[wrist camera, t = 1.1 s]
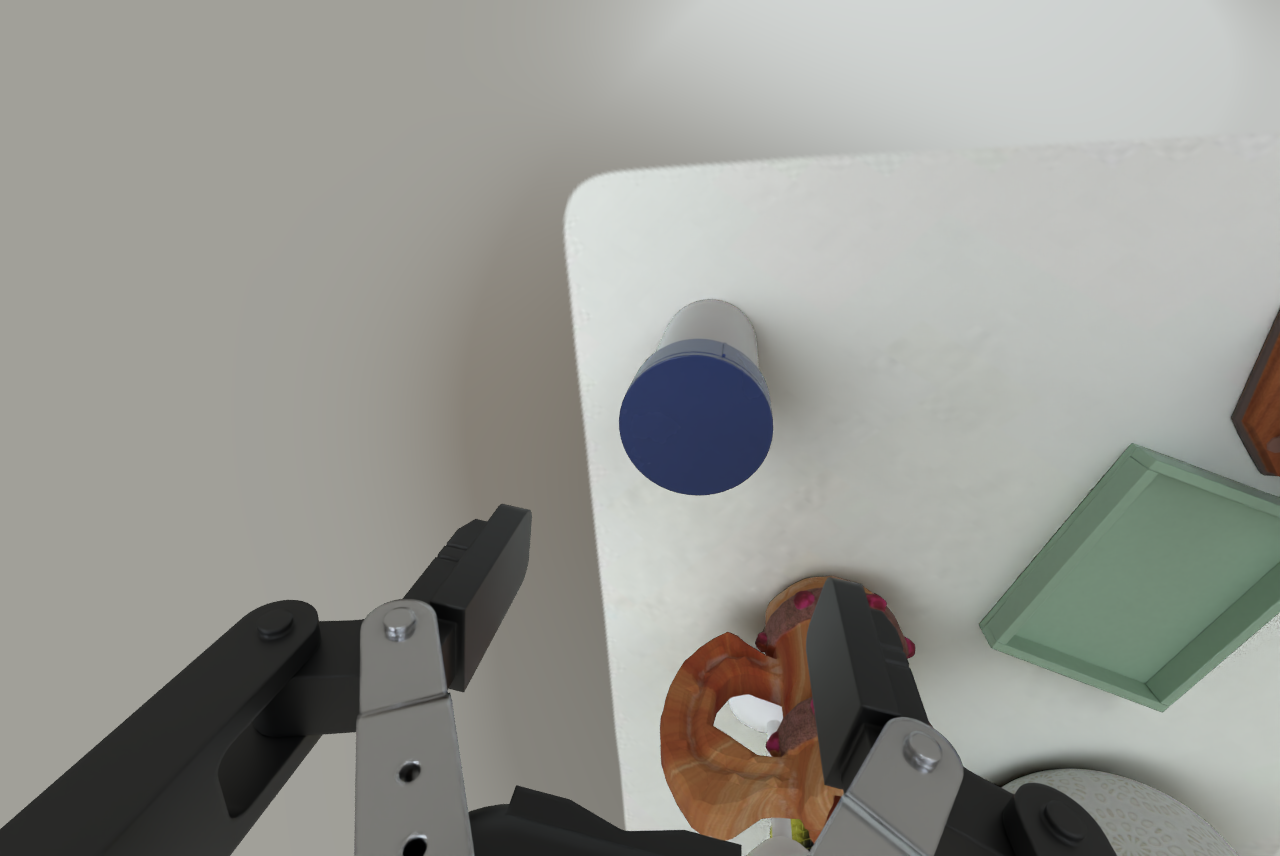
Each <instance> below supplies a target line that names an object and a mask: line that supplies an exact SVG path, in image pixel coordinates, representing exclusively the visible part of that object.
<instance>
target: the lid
mask: <svg viewBox="0 0 1280 856" xmlns="http://www.w3.org/2000/svg"><path fill="white" fill-rule="evenodd" d="M619 430H620V436H621V440H622V443H623V446H624V449H625V451H626V453H627V455H628V457H629V458H630V460H631V461H632V463H633V464H634V465H635V466H636V468H637V469H638V470H639V471H640V472H641V473H642V474H643V475H644V476H645V477H647V478H648V479H649V480H651V481H652V482H654V483H656V484H657V485H659V486H661V487H663V488H665V489H668V490H670V491H674V492H677V493H681V494H686V495H710V494H716V493H720V492H724V491H726V490H729V489H731V488H734V487H736V486H737V485H739V484H741V483H742V482H744V481H745V480H747V479H748V478H749V477H750V476H751V475H752V474H753V473H754V472H756V470H757V469H758V468H759V467H760V465H761V464H762V463H763V461H764V459H765V458H766V456H767V453H768V451H769V449H770V445H771V441H772V436H773V417H772V410H771V402H770V396H769V390H768V387H767V384H766V381H765V379H764V377H763V375H762V373H761V372H760V370H759V369H758V368H757V366H756V365H755V364H754V363H753V362H752V361H751V360H750V359H749V358H748V357H747V356H746V355H745V354H743V353H742V352H741V351H739V350H737V349H736V348H734V347H732V346H730V345H727V342H724V343H722V342H719V341H715V340H709V339H686V340H682V341H677V342H675V343H672V344H669V345H667V346H665V347H663V348H661V349H659V350H658V351H657V352H655V353H654V354H652V355H651V356H650V357H649V358H648V359H647V360H646V361H645V362H644V364H643V365H642V366H641V367H640V369H639V370H638V372H637V374H636V376H635V377H634V379H633V381H632V383H631V385H630V387H629V389H628V391H627V393H626V395H625V397H624V400H623V402H622V406H621V409H620V416H619Z"/></svg>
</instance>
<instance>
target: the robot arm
mask: <svg viewBox="0 0 1280 856" xmlns="http://www.w3.org/2000/svg"><path fill="white" fill-rule="evenodd" d="M531 521H532V513H531V510H528V509H523V508H519V507H514V506H509V505H505V504H501V505H500V506H498V508H497V509H496V511H495V512H494V513H493V515H492V516H491V517H490V519H489V520H488V522H487V521H482V520H478V519H475V520H473V521H471V522H470V523H468V524H466V525H464V526H463V527H461V528H459V529H458V530H457V531H456V532H455V534H454V535H453V536H452V537H451V539H450V540H449V541H448V542H447V545H446V546H444V547H443V549H442V550H441V551H440V552H439V554H438V557H435V559H434V560H433V561H432V562H431V564H430V565H429V566H428V568H427V569H426V570H425V571H424V573H423V574H422V575H421V576H420V578H419V579H418V580H417V581H416V583H415V584H414V585H413V586H412V588H411V589H410V590H409V592H408V593H407V594H406V595H405V596H404V598H403V599H399V600H394V601H390V602H387V603H385V604H383V605H381V606H379V607H377V608H375V609H374V610H373V611H372V612H370V613H369V614H368V615H367V617H366V618H365V619H362V620H353V621H319V620H318V614H317V611H316V609H315V608H314V607H313V606H312V605H310V604H308V603H306V602H303V601H298V600H283V601H277V602H273V603H269V604H266V605H264V606H261V607H259V608H257V609H255V610H253V611H252V612H250V613H248V614H247V615H246V616H244V617H243V618H242V619H241V620H240V621H239V622H237V623H236V624H235V625H234V626H233V627H232V628H231V629H229V630H228V631H227V632H226V633H225V634H224V635H222V636H221V637H220V638H219V639H218V640H217V641H216V642H215V643H213V644H212V645H211V646H210V647H209V648H208V649H206V650H205V651H204V652H203V653H202V654H201V655H200V656H198V657H197V658H196V659H195V660H194V661H193V662H192V663H190V664H189V665H188V666H187V667H186V668H185V669H184V670H182V671H181V672H180V673H179V674H178V675H177V676H175V677H174V678H173V679H172V680H171V681H170V682H169V683H167V684H166V685H165V686H164V687H163V688H162V689H161V690H159V691H158V692H157V693H156V694H155V695H154V696H152V697H151V698H150V699H149V700H148V701H147V702H146V703H144V704H143V705H142V706H141V707H140V708H139V709H138V710H137V711H135V712H134V713H133V714H132V715H131V716H130V717H129V718H127V719H126V720H125V721H124V722H123V723H122V724H120V725H119V726H118V727H117V728H116V729H115V730H114V731H112V732H111V733H110V734H109V735H108V736H107V737H105V738H104V739H103V740H102V741H101V742H100V743H99V744H98V745H96V746H95V747H94V748H93V749H92V750H91V751H89V752H88V753H87V754H86V755H85V756H84V757H83V758H81V759H80V760H79V761H78V762H77V763H76V764H75V765H73V766H72V767H71V768H70V769H69V770H68V771H66V772H65V773H64V774H63V775H62V776H61V777H60V778H59V779H57V780H56V781H55V782H54V783H53V784H52V785H50V786H49V787H48V788H47V789H46V790H45V791H44V792H43V793H41V794H40V795H39V796H38V797H37V798H36V799H34V800H33V801H32V802H31V803H30V804H29V805H28V806H26V807H25V808H24V809H23V810H22V811H21V812H20V813H18V814H17V815H16V816H15V817H14V818H13V819H11V820H10V821H9V822H8V823H7V824H6V825H5V826H3V827H2V828H1V829H0V856H230V855H231V854H232V852H233V851H234V850H235V849H236V847H237V846H238V845H239V843H240V842H241V841H242V839H243V838H244V837H245V835H246V834H247V833H248V832H249V830H250V829H251V827H252V826H253V825H254V824H255V822H256V821H257V820H258V818H259V817H260V816H261V815H262V813H263V812H264V811H265V809H266V808H267V807H268V805H269V804H270V802H271V801H272V800H273V799H274V798H275V796H276V795H277V794H278V792H279V791H280V790H281V788H282V787H283V786H284V784H285V783H286V782H287V781H288V779H289V778H290V777H291V775H292V774H293V773H294V771H295V770H296V769H297V767H298V766H299V765H300V763H301V762H302V761H303V760H304V758H305V757H306V756H307V754H308V753H309V752H310V750H311V749H312V748H313V747H314V745H315V744H316V743H317V741H318V740H319V739H320V737H321V736H322V735H323V734H335V733H349V732H356V783H355V784H356V785H355V849H354V851H355V852H354V854H355V855H354V856H741V845H739V844H735V843H732V842H728V841H724V840H720V839H717V838H713V837H709V836H705V835H701V834H698V833H694V832H690V831H686V830H663V831H624V830H621V829H619V828H617V827H616V826H614V825H612V824H611V823H609V822H607V821H605V820H604V819H602V818H600V817H599V816H597V815H595V814H593V813H592V812H590V811H588V810H587V809H585V808H583V807H582V806H580V805H578V804H576V803H575V802H573V801H572V800H569V799H566V798H562V797H558V796H554V795H551V794H547V793H543V792H539V791H535V790H532V789H528V788H524V787H520V786H516V787H515V790H514V793H513V796H512V799H511V801H510V804H500V805H494V806H488V807H483V808H480V809H477V810H473V811H470V812H468V807H467V800H466V794H465V787H464V780H463V773H462V766H461V759H460V752H459V745H458V739H457V732H456V725H455V718H454V711H453V706H452V699H451V695H450V693H448V692H447V690H448V688H449V689H453V690H456V691H461V692H464V691H465V689H466V688H467V686H468V684H469V682H470V680H471V678H472V676H473V675H474V673H475V671H476V669H477V667H478V665H479V663H480V661H481V660H482V658H483V656H484V654H485V652H486V650H487V648H488V646H489V645H490V643H491V641H492V639H493V637H494V635H495V633H496V631H497V630H498V627H499V626H500V624H501V622H502V620H503V618H504V616H505V614H506V613H507V611H508V609H509V607H510V605H511V603H512V601H513V599H514V598H515V596H516V594H517V592H518V590H519V588H520V586H521V584H522V582H523V580H524V577H525V574H526V570H527V566H528V561H529V548H530V535H531ZM903 649H904V648H903V645H902V642H901V639H900V637H899V634H898V631H897V629H896V628H895V626H894V625H893V624H892V623H891V621H890V620H889V619H888V618H887V616H886V615H885V614H884V613H883V611H880V610H875V609H871V608H870V607H869V603H868V600H867V596H866V593H865V590H864V587H863V585H862V584H859V583H855V582H850V581H846V580H841V579H837V578H832V577H828V578H827V580H826V581H825V583H824V586H823V589H822V591H821V594H820V597H819V599H818V602H817V605H816V607H815V610H814V613H813V615H812V618H811V621H810V624H809V627H808V631H807V638H806V654H807V662H808V669H809V676H810V684H811V691H812V698H813V706H814V713H815V720H816V727H817V735H818V742H819V749H820V757H821V764H822V771H823V779H824V785H826V786H830V787H834V788H838V789H842V790H843V793H844V794H843V795H842V797H841V799H840V800H839V802H838V804H837V805H836V807H835V809H834V811H833V812H832V814H831V816H830V817H829V819H828V821H827V823H826V824H825V826H824V828H823V829H822V831H821V833H820V835H819V836H818V838H817V840H816V841H815V843H814V845H813V847H812V848H811V850H810V852H809V853H808V855H807V856H1117V855H1116V853H1115V851H1114V849H1113V847H1112V846H1111V844H1110V842H1109V840H1108V839H1107V837H1106V835H1105V833H1104V832H1103V830H1102V829H1101V827H1100V826H1099V825H1098V823H1097V822H1096V821H1095V819H1094V818H1093V817H1092V816H1091V815H1090V814H1089V813H1088V812H1087V811H1086V810H1085V809H1084V808H1083V807H1082V806H1081V805H1079V804H1078V803H1077V802H1076V801H1074V800H1073V799H1072V798H1070V797H1069V796H1067V795H1066V794H1064V793H1062V792H1061V791H1059V790H1057V789H1055V788H1053V787H1050V786H1048V785H1044V784H1041V783H1026V784H1023V785H1021V786H1020V787H1019V788H1018V790H1017V791H1016V792H1015V794H1012V793H1010V792H1008V791H1007V790H1005V789H1003V788H1001V787H999V786H997V785H995V784H993V783H991V782H989V781H987V780H985V779H983V778H981V777H980V776H978V775H976V774H974V773H972V772H971V771H969V770H967V769H966V768H965V767H963V766H962V762H961V760H960V757H959V755H958V754H957V752H956V750H955V749H954V747H953V746H952V745H951V743H950V742H949V741H948V740H947V739H946V738H945V737H944V736H943V735H942V734H940V733H939V732H938V731H937V730H935V729H934V728H932V727H931V726H930V724H929V721H928V718H927V715H926V712H925V709H924V707H923V704H922V701H921V698H920V695H919V692H918V689H917V686H916V683H915V680H914V677H913V674H912V672H911V669H910V668H909V663H908V660H907V657H906V654H905V652H903Z"/></svg>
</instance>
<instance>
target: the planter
mask: <svg viewBox="0 0 1280 856" xmlns="http://www.w3.org/2000/svg"><path fill="white" fill-rule="evenodd" d="M1026 783H1041V784H1044V785H1048V786H1050V787H1053V788H1055V789H1057V790H1059V791H1061V792H1062V793H1064V794H1066V795H1067V796H1069V797H1070V798H1072V799H1073V800H1074V801H1076V802H1077V803H1078V804H1079V805H1081V806H1082V807H1083V808H1084V809H1085V810H1086V811H1087V812H1088V813H1089V814H1090V815H1091V816H1092V817H1093V818H1094V819H1095V821H1096V822H1097V823H1098V825H1099V826H1100V827H1101V829H1102V830H1103V832H1104V833H1105V835H1106V837H1107V839H1108V840H1109V842H1110V844H1111V846H1112V847H1113V849H1114V851H1115V853H1116V855H1117V856H1239V855H1238V854H1237V852H1236V851H1235V850H1234V849H1233V848H1232V847H1231V846H1230V845H1229V844H1228V843H1227V841H1226V840H1225V839H1224V838H1223V837H1222V836H1221V835H1220V834H1219V833H1218V832H1217V831H1216V830H1215V829H1214V828H1213V827H1212V826H1211V825H1209V824H1208V823H1207V822H1206V821H1205V820H1204V819H1202V818H1201V817H1200V816H1199V815H1198V814H1196V813H1195V812H1194V811H1192V810H1191V809H1189V808H1188V807H1187V806H1185V805H1184V804H1182V803H1181V802H1179V801H1178V800H1176V799H1174V798H1172V797H1171V796H1169V795H1167V794H1165V793H1163V792H1161V791H1159V790H1157V789H1155V788H1153V787H1150V786H1148V785H1146V784H1143V783H1140V782H1138V781H1135V780H1132V779H1129V778H1126V777H1122V776H1119V775H1115V774H1110V773H1106V772H1101V771H1095V770H1087V769H1054V770H1046V771H1041V772H1036V773H1032V774H1029V775H1026V776H1023V777H1020V778H1018V779H1015V780H1013V781H1011V782H1009V783H1008V784H1006V785H1004V786H1003V787H1001V788H1003V789H1005V790H1007V791H1008V792H1010V793H1012V794H1015V792H1016V791H1017V790H1018V788H1019V787H1020V786H1021V785H1023V784H1026Z"/></svg>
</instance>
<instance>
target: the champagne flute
mask: <svg viewBox="0 0 1280 856" xmlns="http://www.w3.org/2000/svg"><path fill="white" fill-rule="evenodd" d="M729 705H730V708H731V710H732V712H733V714H734V715H735V716H736V718H738V719H739V720H740V721H741V722H742V723H743V724H745V725H746V726H748V727H750V728H752V729H754V730H757V731H760V732H764V733H767V741H768V739H769V738H770V736H771V735H772V733H774V732H776V731H777V730H778V728H779V726H780V724H781V722H782V720H783V712H782V707H781V706H779V705H776V704H774V703H771V702H768V701H765V700H762V699H759V698H756V697H754V696H752V695H741V696H736V697H732V698H730V699H729ZM768 756H770V757H772V756H771V755H770V753H769V752H768ZM771 826H772V838H769V839H767V840H765V841H763V842H762V843H761V844H760V845H758V846H757V847H756V848H755V849H753V850H752V851H751V852H750V853H748V854H747V855H746V856H807V855H808V853H809V851H808V850H807V849H806V848H805V847H803V846H802V845H801V844H800V843H798V842H797V841H795V840H792V831H791V819H786V818H771Z"/></svg>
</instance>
